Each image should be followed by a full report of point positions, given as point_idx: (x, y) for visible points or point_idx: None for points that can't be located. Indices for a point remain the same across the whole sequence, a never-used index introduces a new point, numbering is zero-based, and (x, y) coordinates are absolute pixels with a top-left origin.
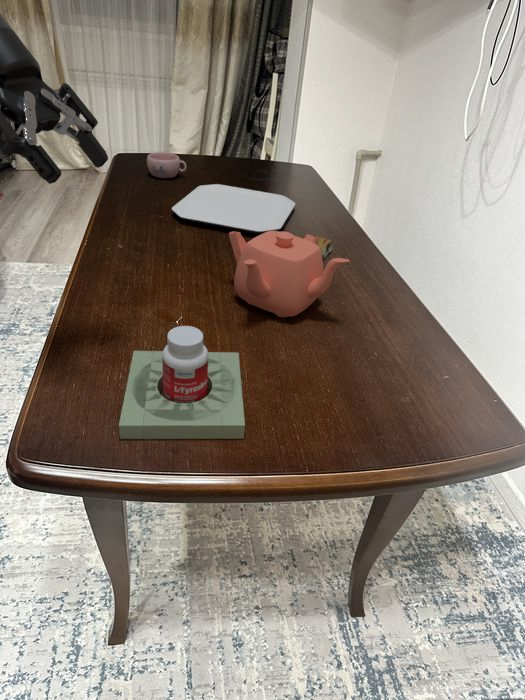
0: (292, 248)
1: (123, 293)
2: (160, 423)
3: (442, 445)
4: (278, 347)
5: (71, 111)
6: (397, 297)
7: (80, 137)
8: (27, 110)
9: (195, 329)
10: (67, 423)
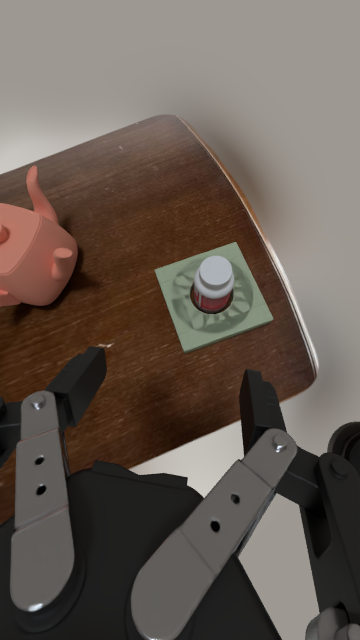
0: (8, 226)
1: None
2: (259, 292)
3: (191, 148)
4: (121, 253)
5: (34, 445)
6: (12, 181)
7: (64, 421)
8: (233, 526)
9: (203, 265)
10: (271, 367)
